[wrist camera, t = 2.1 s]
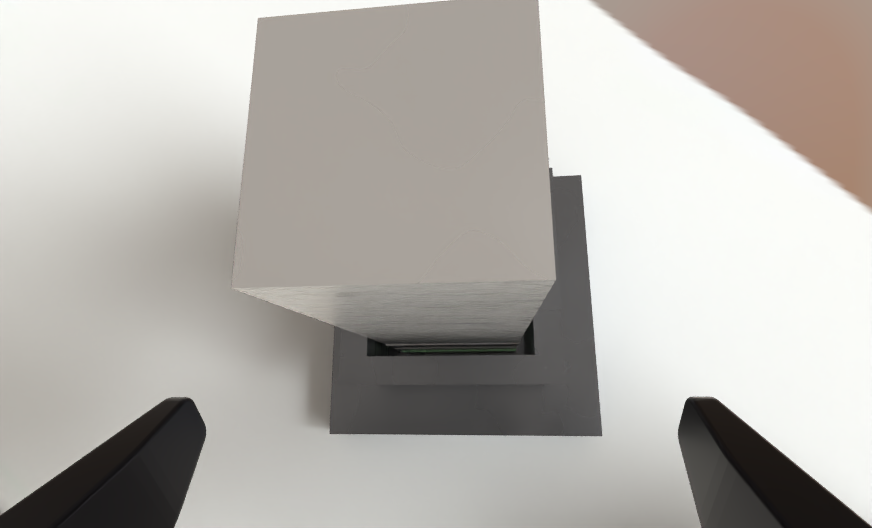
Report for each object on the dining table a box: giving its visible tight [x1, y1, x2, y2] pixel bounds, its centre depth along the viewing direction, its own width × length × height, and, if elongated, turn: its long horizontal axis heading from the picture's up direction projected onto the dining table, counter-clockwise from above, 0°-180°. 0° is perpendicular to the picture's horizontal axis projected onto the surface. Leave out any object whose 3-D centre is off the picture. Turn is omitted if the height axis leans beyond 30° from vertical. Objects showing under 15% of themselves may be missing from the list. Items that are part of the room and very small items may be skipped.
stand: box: [330, 168, 602, 436], centre depth 17 cm, size 10×10×6 cm
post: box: [231, 0, 556, 353], centre depth 13 cm, size 4×4×13 cm
